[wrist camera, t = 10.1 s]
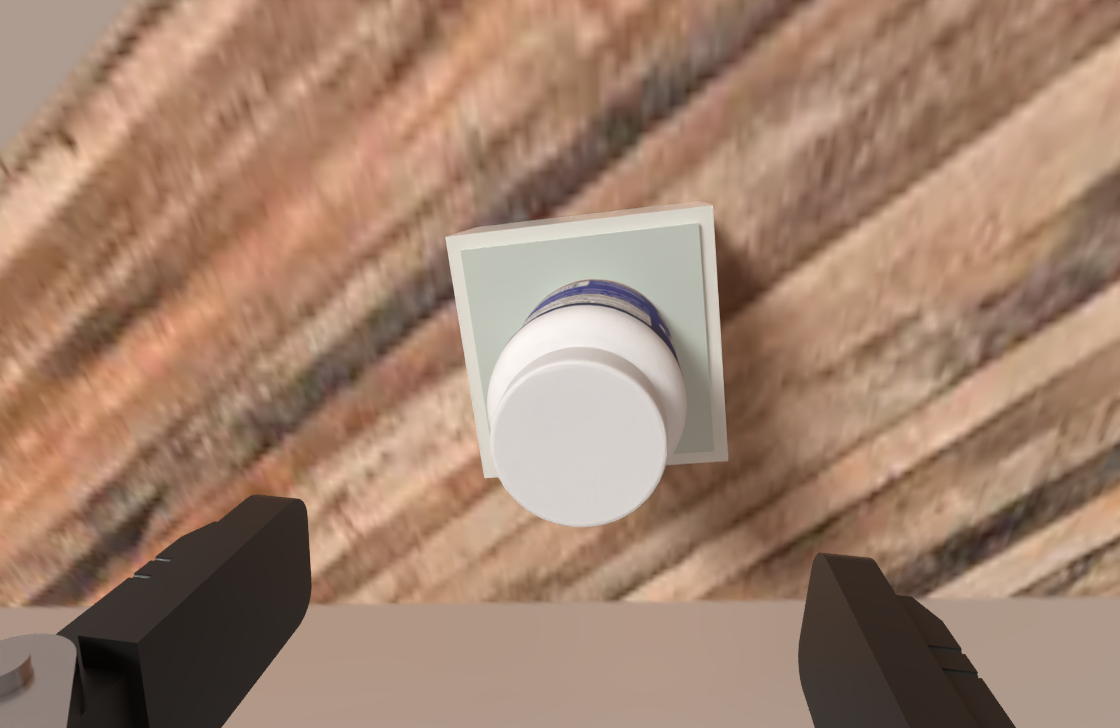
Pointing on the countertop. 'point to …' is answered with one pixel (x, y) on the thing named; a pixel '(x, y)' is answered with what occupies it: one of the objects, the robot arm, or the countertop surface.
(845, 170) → the countertop surface
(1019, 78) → the countertop surface
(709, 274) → the pedestal
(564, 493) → the pill bottle
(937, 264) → the countertop surface
